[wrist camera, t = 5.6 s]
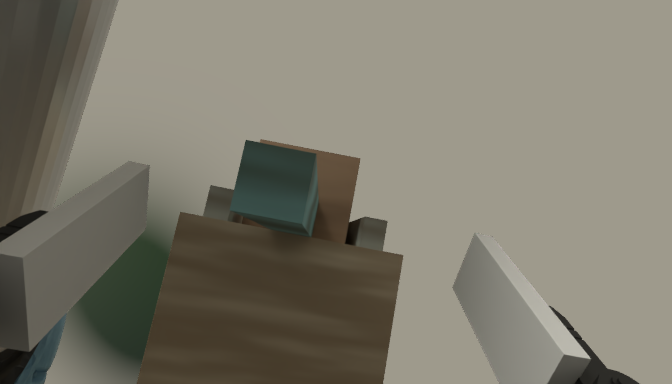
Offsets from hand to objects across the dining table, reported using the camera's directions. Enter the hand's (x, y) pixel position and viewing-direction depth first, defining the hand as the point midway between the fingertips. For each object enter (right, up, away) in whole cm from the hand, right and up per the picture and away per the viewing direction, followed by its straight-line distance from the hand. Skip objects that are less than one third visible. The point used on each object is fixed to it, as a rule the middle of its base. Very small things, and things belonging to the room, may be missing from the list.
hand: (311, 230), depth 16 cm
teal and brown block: (-2, -1, +7) cm, 8 cm away
